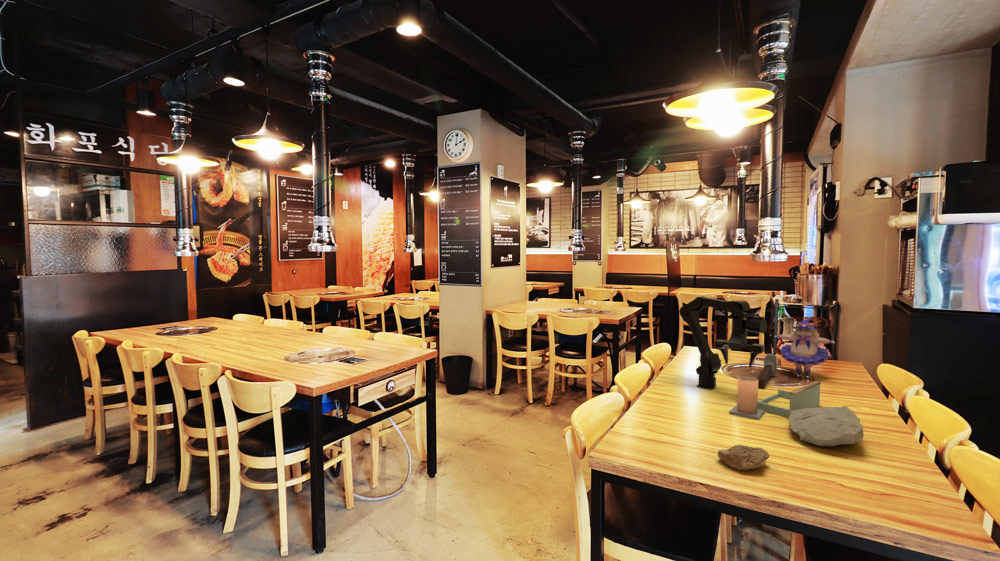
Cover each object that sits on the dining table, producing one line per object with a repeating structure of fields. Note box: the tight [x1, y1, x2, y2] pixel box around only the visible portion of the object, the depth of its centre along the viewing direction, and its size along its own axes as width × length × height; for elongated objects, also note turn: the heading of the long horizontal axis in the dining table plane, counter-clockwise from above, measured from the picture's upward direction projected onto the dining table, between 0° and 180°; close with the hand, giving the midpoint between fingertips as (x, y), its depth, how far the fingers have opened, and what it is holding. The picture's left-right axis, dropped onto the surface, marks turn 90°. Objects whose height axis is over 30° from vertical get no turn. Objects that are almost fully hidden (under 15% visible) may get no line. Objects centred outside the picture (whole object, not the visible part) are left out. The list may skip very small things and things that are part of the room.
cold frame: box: [757, 380, 822, 419], centre depth 184 cm, size 15×25×10 cm, turn 126°
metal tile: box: [728, 404, 766, 421], centre depth 176 cm, size 10×10×1 cm
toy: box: [774, 317, 836, 377], centre depth 227 cm, size 25×21×30 cm
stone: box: [788, 405, 865, 447], centre depth 155 cm, size 33×9×20 cm
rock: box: [717, 444, 770, 471], centre depth 133 cm, size 13×11×5 cm
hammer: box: [756, 353, 778, 390], centre depth 219 cm, size 5×11×30 cm
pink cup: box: [736, 376, 759, 414], centre depth 176 cm, size 7×7×12 cm
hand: (738, 365), depth 198 cm, fingers open, 9 cm apart
